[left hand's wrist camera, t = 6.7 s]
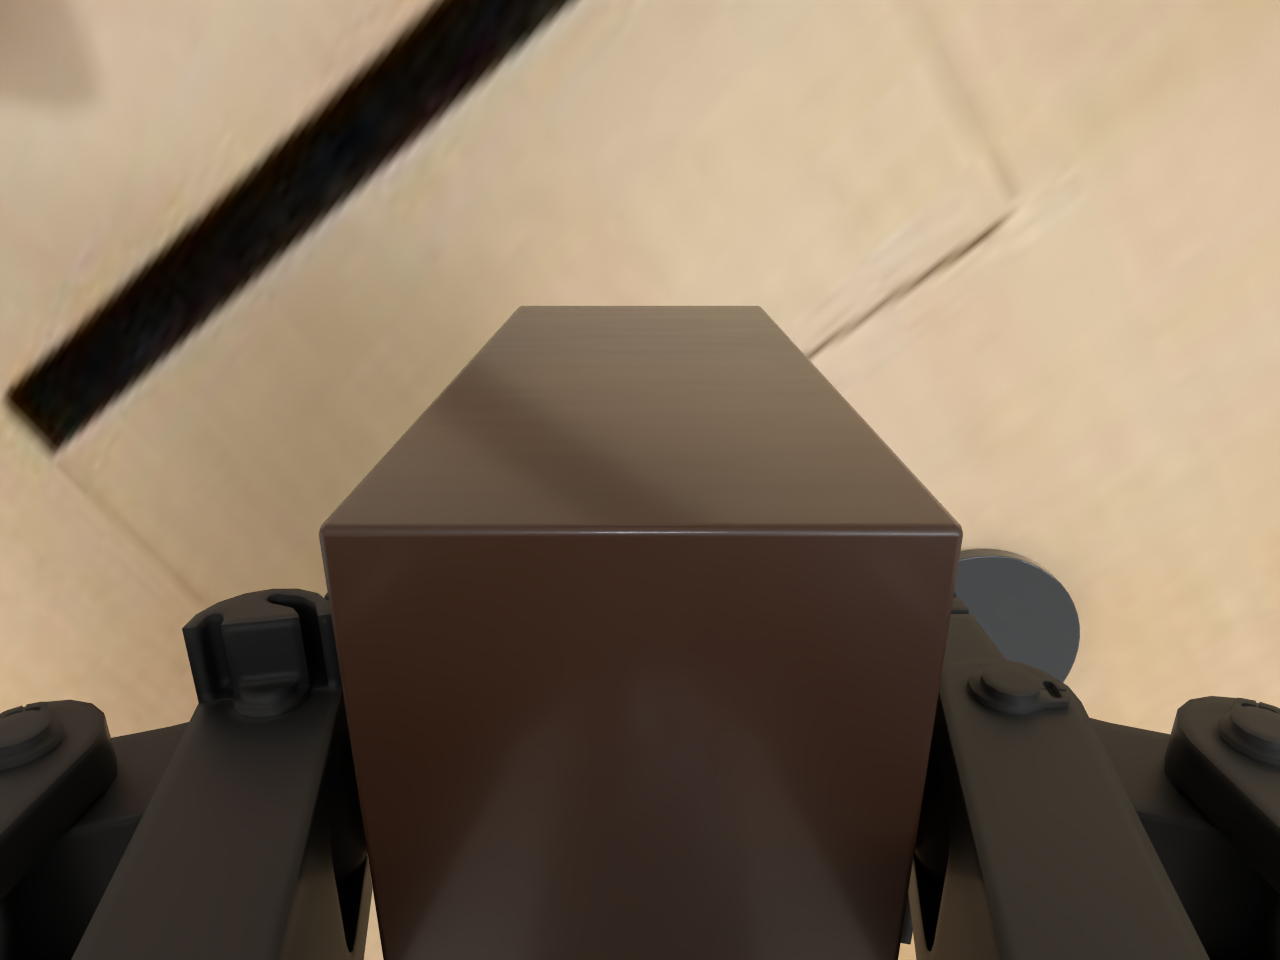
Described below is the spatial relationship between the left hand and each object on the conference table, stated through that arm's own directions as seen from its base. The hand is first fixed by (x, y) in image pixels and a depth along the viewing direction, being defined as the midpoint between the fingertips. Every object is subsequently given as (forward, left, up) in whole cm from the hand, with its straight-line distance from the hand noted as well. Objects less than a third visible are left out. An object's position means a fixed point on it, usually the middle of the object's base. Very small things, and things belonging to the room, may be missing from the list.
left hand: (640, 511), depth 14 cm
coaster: (+12, +13, -15) cm, 23 cm away
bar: (+9, 0, 0) cm, 10 cm away
